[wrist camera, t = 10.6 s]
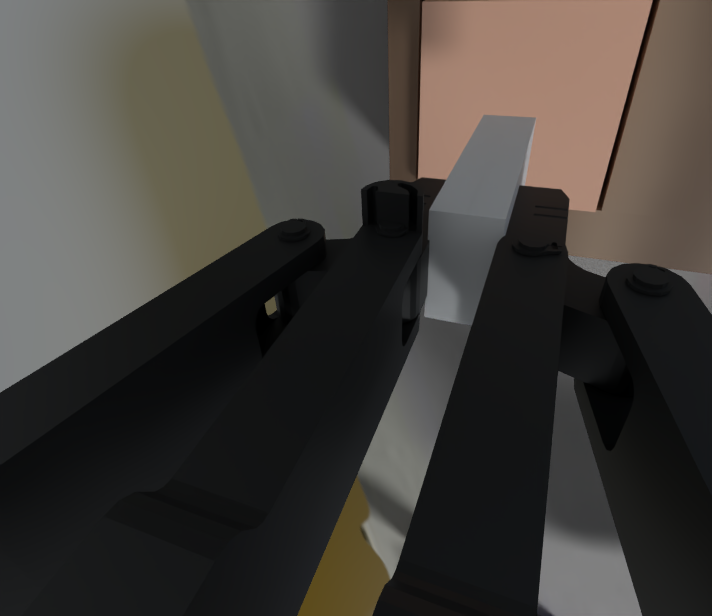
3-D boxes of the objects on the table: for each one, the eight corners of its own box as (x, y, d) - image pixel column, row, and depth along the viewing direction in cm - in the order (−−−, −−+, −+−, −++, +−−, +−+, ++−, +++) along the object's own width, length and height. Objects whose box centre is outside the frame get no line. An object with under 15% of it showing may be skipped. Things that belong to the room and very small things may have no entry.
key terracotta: (645, -15, 17) (653, -3, 14) (595, 180, 21) (595, 212, 19) (442, -9, 19) (422, 1, 17) (434, 166, 23) (417, 193, 21)
